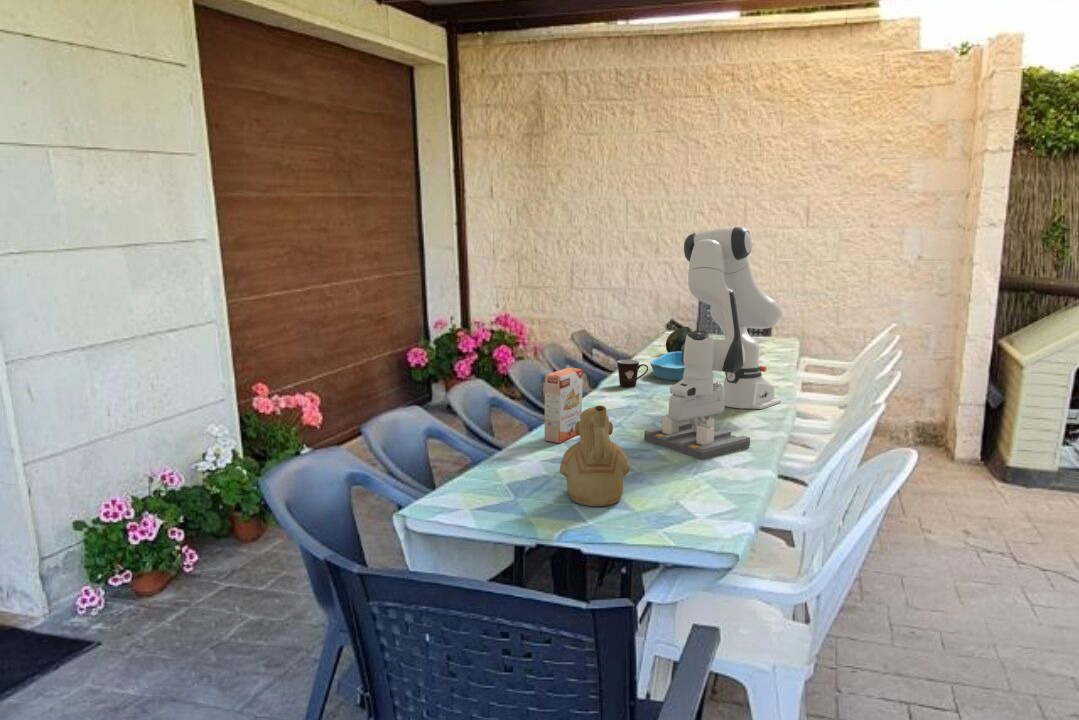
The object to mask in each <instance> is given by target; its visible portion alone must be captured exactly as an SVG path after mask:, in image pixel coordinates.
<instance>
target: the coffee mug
mask: <svg viewBox="0 0 1079 720" xmlns="http://www.w3.org/2000/svg"><path fill="white" fill-rule="evenodd" d="M616 363H617V371H618V372H617V373H618V380H619V381H618V383H619V387H620V388H623V387H624V388H625V389H629V388H628V387H633V388H636V387H637V381H638V380H639V379H640V378H642V377H643V376H645V375H646V374H647V372H648V371H649V367H648V365H647V364H645V363H642V364H640V361H639V360H636V359H620V360H617V362H616ZM643 366H644V367H645V368H646V370H645V371H644V372H643V373H642V374H640V375H639V376H638V374H639V373H638V372H639V369H640V368H641V367H643ZM635 386H636V387H635Z"/></svg>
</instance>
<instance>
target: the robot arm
mask: <svg viewBox="0 0 1079 720" xmlns="http://www.w3.org/2000/svg"><path fill="white" fill-rule="evenodd" d="M752 241H753V240H752V236H751V233H750V231H749V230H748V229H746V228H745V227H742V226H734V227H720V228H714V229H710V230H705V231H700V232H693V233H691V234H689V235H687V237H686V238H685V239H684V243H683V253H684V257H685V260H687V261H688V262H689V266H688V274H687V275H688V276H687V282H688V283H687V284H688V290H689V292H690V294H691V296H693V297H694V298H695V299H696V300H698V301H699V302H702V303H704V304H706V305H708V306H710V308H709V309H710V310H709V312H710V317H711V319H712V320H713V322H715V324H717V325H718V327H719V328H720V330H721V332H722V334H723V336H724V339H721V338H720V339H717V338H713V334H712V333H711V332H709V331H706V330H692V332H689V333H688V334H687V336H686V341H685V344H684V345H683V346H682V349H681V363H682V364H683V365H684V366H685V370H684V374H683V379H682V380H681V381H677V382H676V383H674V384H673V385H671V386H670V387H669V393H670V394H671V395H670V397H669V399H668V400H669V401H668V414H669V417H670V419H671V420H674V421H677V422H679V423H680V422H685V421H690V423H691V425H692V431H694V432H697V426H700V424H703V422H704V420H705V416H712V415H717V414H721V413H723V412H724V411H725V407H728V408H732V409H733V408H735V409H754V410H763V409H766V408H769V407H771V406H775V405H776V404H780V403H781V402H782V400H781V398H779V397H776V396H775V388H774V385H773V384H772V383H770V382H769V381H768V380H767V379H766V378H765V377H764V376H763V373H765V372H767V366H765V365H764V366H763V365H760V364H759V363H760V362H759V360H760V345H759V343H758V341H757V340H756V339H754V338H753V337H751V335H750V334H749V332H748V329H756V330H763V329H764V330H765V329H771V328H774V327H775V326H776V325H777V324H778V323H779V321H780V319H781V313H782V312H781V308H780V305H779V303H778V302H777V301H776V300H774V299H773V298H771V297H769V295H767V294H766V293H765V292H764V291H763V290H762V289H761V287H759V285H758V283H757V282H756V280H755V278H754V276H753V275H754V274H753V272H752V270H751V269H752V268H751V265H750V261H749V259H748V256H749V255H750V254H751V252H752V247H753V242H752ZM714 371H715V372H723V373H724V374H725V378H724V381H723V385H722V384H721V383H720V382H715V383H714ZM762 372H763V373H762Z"/></svg>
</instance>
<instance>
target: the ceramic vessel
mask: <svg viewBox="0 0 1079 720" xmlns="http://www.w3.org/2000/svg"><path fill="white" fill-rule="evenodd" d="M607 410H608V409H607V407H606V406H605V405H598V404H597V405H595V406H593V407H589V408H586V409H584V410H582V413H581V415H580V419H581V421H578V422H577V423H576V424H575V433H576V436H579V440H578V441H577V442H576V443H574V444H572V445H570V446H569V447H568V448H567V449H566V451H565V452H564V454H563V457H562V459H561V462H560V466H559V473H560V474H561V475H562V476H564V477H565V478H566V487H567V488H566V489H567V493H568V495H569V497H570V498H571V500H573V501H574V502H575V503H577V504H579V505H582V506H587V507H607V506H611V505H614V504H616V503H618V502H619V501H620V500H621V498H622V496H623V493H624V477H625V476H626V475H628V473H630V469H631V468H630V463H629V460H628V458H627V454H626V453H625V452H624V450H623V448H622V447H621V446H620V445H619V444H616V443H614V442H613V441H611V437H610V436H611V435H612V434H613V430H614V427H613V426H614V425H613V423H612V421H609V420H610V419H609V418H610V417H609V415H608V413H607Z"/></svg>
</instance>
